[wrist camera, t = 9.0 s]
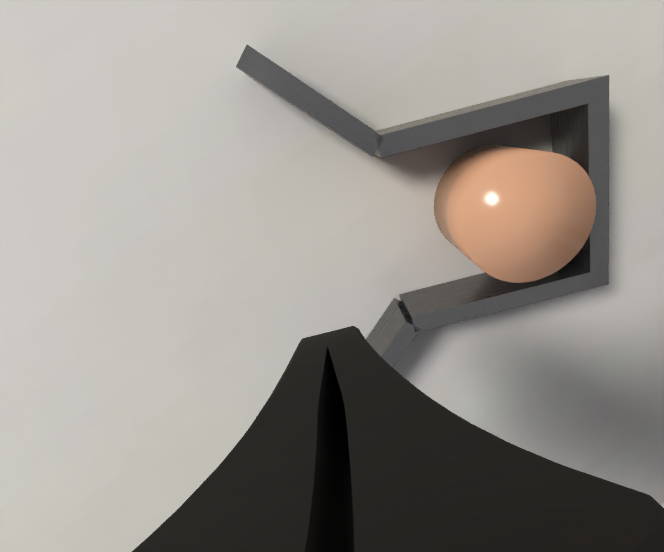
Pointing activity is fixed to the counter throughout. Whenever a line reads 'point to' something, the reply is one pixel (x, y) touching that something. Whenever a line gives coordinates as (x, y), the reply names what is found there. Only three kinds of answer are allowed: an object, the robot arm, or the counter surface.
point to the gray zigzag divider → (558, 99)
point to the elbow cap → (515, 210)
